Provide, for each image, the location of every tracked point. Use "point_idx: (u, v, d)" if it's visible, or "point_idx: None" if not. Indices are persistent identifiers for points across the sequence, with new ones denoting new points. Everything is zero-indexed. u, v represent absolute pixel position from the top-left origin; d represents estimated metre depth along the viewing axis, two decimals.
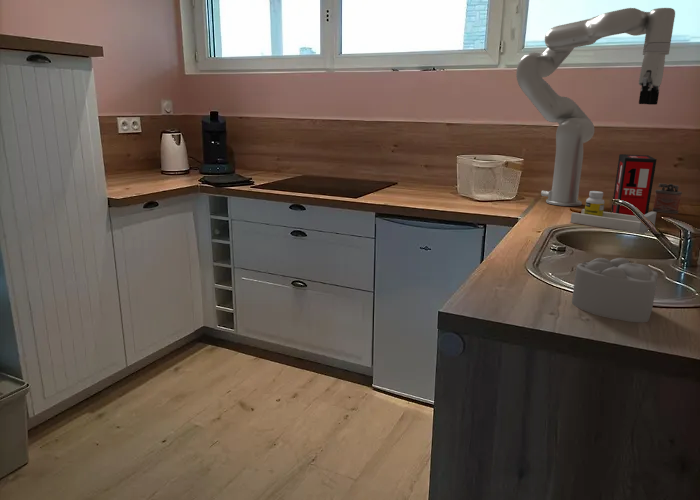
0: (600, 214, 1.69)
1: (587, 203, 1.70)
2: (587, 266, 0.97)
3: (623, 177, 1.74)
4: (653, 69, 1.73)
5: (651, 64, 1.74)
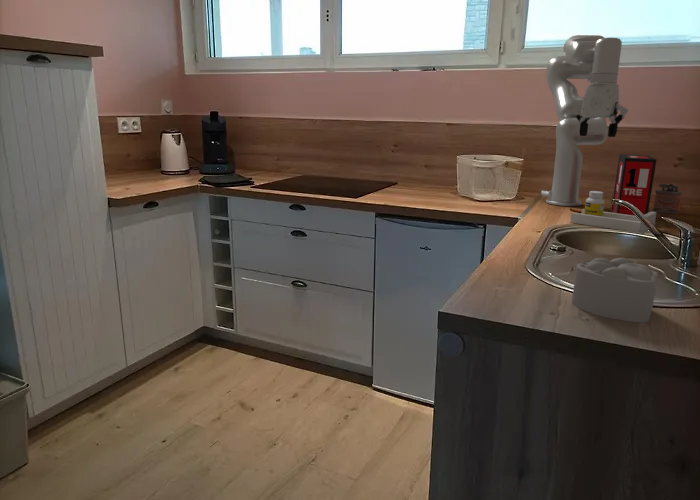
0: (600, 214, 1.69)
1: (586, 203, 1.70)
2: (587, 266, 0.97)
3: (623, 177, 1.74)
4: (618, 101, 1.68)
5: (617, 96, 1.67)
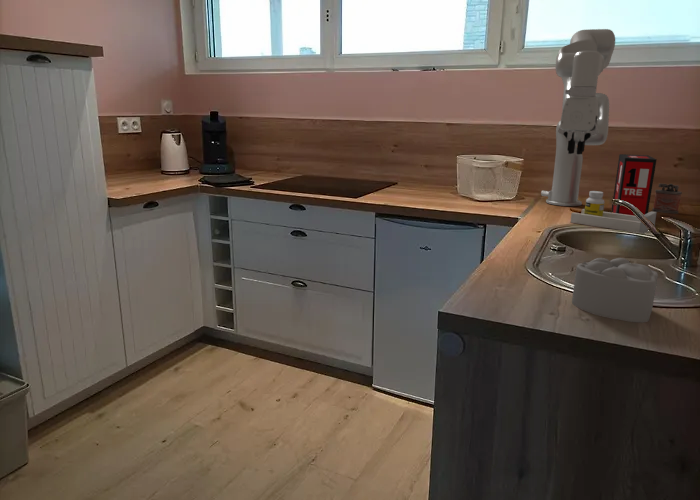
0: (600, 214, 1.69)
1: (586, 203, 1.70)
2: (587, 266, 0.97)
3: (623, 177, 1.74)
4: (597, 115, 1.67)
5: (597, 110, 1.66)
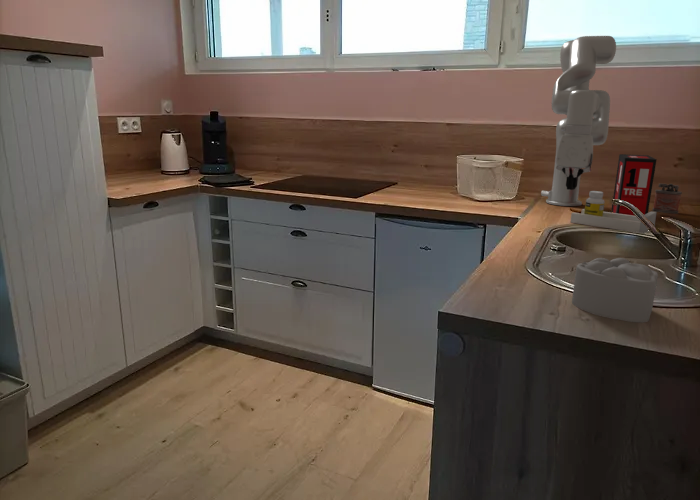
0: (600, 214, 1.69)
1: (586, 203, 1.70)
2: (587, 266, 0.97)
3: (623, 177, 1.74)
4: (592, 152, 1.69)
5: (592, 147, 1.68)
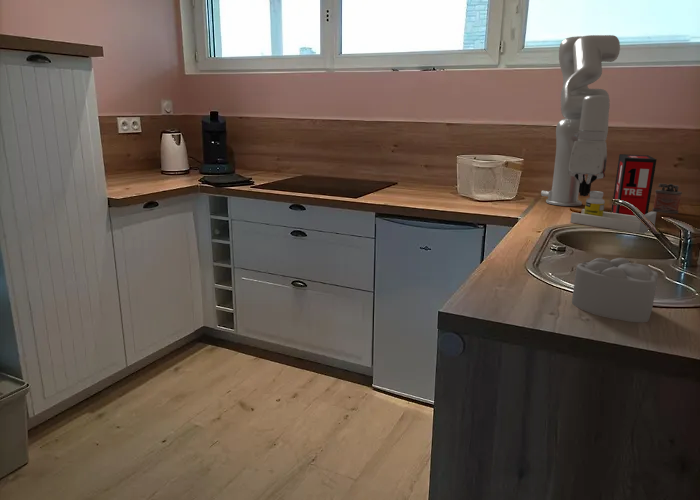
0: (600, 214, 1.69)
1: (587, 203, 1.70)
2: (587, 266, 0.97)
3: (623, 177, 1.74)
4: (606, 159, 1.67)
5: (606, 153, 1.66)
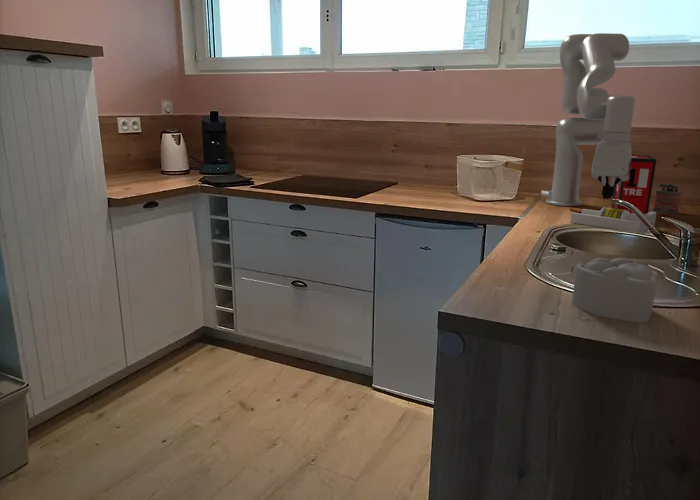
0: None
1: (620, 213, 1.64)
2: (587, 266, 0.97)
3: None
4: None
5: (630, 155, 1.62)
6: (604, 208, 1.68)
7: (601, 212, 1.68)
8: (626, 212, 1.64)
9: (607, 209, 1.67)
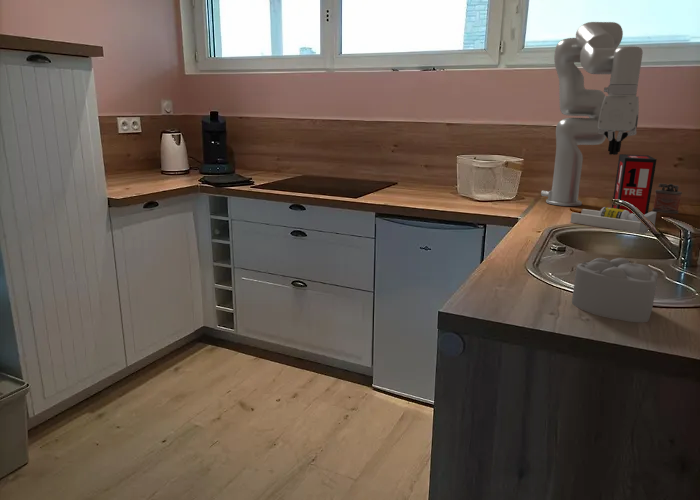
0: None
1: (620, 214, 1.64)
2: (587, 266, 0.97)
3: (623, 177, 1.74)
4: None
5: (638, 108, 1.58)
6: (604, 208, 1.68)
7: (601, 212, 1.68)
8: (626, 212, 1.63)
9: (607, 209, 1.67)
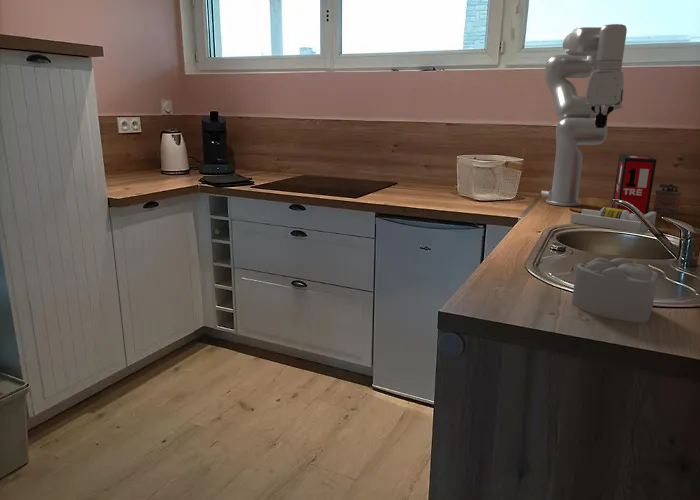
0: None
1: (620, 214, 1.64)
2: (587, 266, 0.97)
3: (623, 177, 1.74)
4: None
5: (623, 83, 1.67)
6: (604, 208, 1.68)
7: (601, 212, 1.68)
8: (626, 212, 1.63)
9: (607, 209, 1.67)
